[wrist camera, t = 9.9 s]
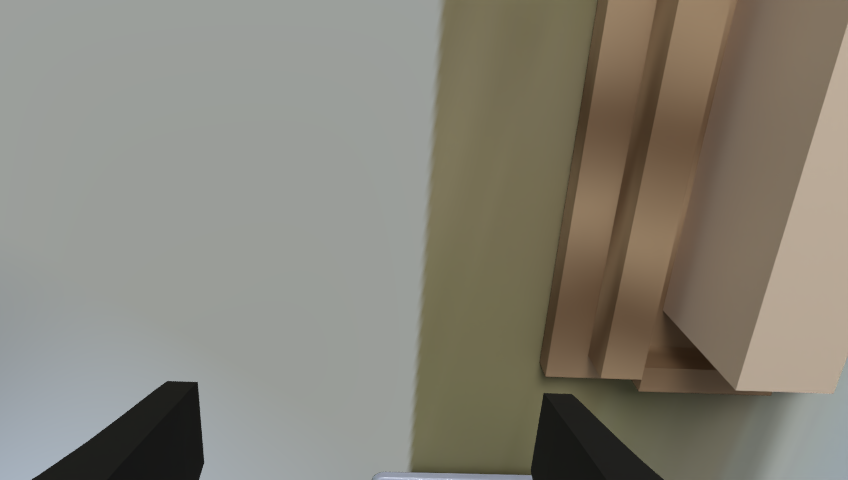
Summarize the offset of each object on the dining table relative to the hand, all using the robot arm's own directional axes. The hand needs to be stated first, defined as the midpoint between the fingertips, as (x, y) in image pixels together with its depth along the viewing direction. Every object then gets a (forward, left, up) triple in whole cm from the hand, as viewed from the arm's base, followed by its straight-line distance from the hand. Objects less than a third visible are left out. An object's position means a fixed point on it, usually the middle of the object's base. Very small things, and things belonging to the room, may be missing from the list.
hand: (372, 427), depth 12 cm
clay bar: (+5, -12, -9) cm, 16 cm away
